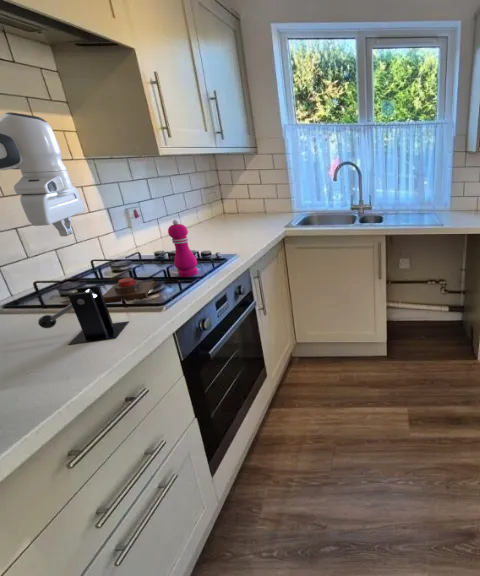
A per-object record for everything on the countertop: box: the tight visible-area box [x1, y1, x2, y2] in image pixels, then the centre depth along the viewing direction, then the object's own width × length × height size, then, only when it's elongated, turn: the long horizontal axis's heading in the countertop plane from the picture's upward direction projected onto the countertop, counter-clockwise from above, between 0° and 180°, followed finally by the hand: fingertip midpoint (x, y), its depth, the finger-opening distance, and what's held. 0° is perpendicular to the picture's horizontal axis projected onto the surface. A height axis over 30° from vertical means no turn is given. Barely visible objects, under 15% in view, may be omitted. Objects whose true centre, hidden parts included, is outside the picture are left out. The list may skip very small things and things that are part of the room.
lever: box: [37, 289, 97, 329], centre depth 87 cm, size 14×3×3 cm, turn 104°
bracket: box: [67, 284, 130, 346], centre depth 89 cm, size 10×9×13 cm
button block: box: [102, 279, 157, 304], centre depth 114 cm, size 12×10×4 cm
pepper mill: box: [167, 219, 199, 278], centre depth 127 cm, size 7×7×20 cm
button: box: [117, 277, 135, 287], centre depth 113 cm, size 4×4×2 cm
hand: (66, 235), depth 98 cm, fingers closed
